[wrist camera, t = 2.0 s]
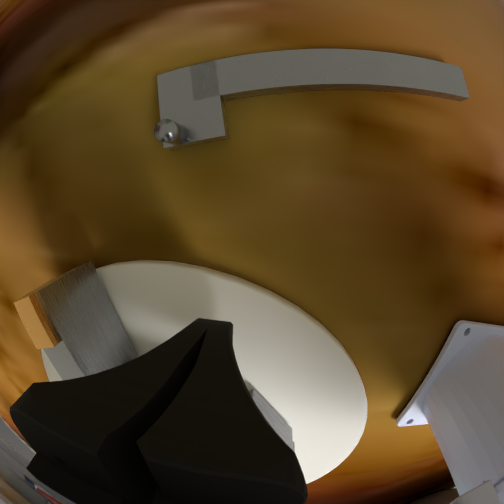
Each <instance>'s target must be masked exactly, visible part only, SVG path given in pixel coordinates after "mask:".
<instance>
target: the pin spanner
mask: <svg viewBox="0 0 504 504" xmlns="http://www.w3.org/2000/svg"><path fill="white" fill-rule="evenodd" d="M157 85H158V98H159V110H160V120H161V121H159V122H158V123H157V125H156V126H155V129H154V135H155V137H156V139H157V140H159V141H161V142H163V147H164V149H169V150H173V149H178V148H182V147H187V146H191V145H196V144H201V143H206V142H212V141H217V140H223V139H229V135H228V127H227V120H226V112H225V105H224V101H228V100H233V99H239V98H246V97H253V96H260V95H268V94H277V93H288V92H301V91H319V90H371V91H389V92H401V93H411V94H419V95H427V96H434V97H440V98H446V99H451V100H457V101H462V100H465V99H469V94H468V90H467V86H466V82H465V79H464V75H463V72H462V69H461V67H459V66H455V65H451V64H447V63H443V62H439V61H435V60H430V59H426V58H421V57H415V56H409V55H403V54H396V53H389V52H380V51H370V50H355V49H296V50H282V51H271V52H262V53H254V54H247V55H240V56H234V57H228V58H223V59H218V60H213V61H208V62H204V63H200V64H195V65H191V66H187V67H184V68H180V69H176V70H173V71H169V72H166V73H163V74H160V75H157Z"/></svg>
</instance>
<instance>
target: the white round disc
mask: <svg viewBox="0 0 504 504" xmlns="http://www.w3.org/2000/svg"><path fill="white" fill-rule="evenodd" d="M96 271H97V273H98V276H99V278H100V280H101V282H102V285H103V287H104V289H105V291H106V294H107V296H108V298H109V300H110V302H111V304H112V306H113V308H114V310H115V312H116V315H117V316H118V318H119V320H120V322H121V324H122V326H123V328H124V330H125V332H126V334H127V336H128V337H129V339H130V341H131V343H132V345H133V346H134V348H135V350H136V352H137V353H138V357H139V356H141V355H143V354H145V353H147V352H149V351H150V350H152V349H154V348H155V347H157V346H159V345H160V344H162V343H164V342H165V341H167V340H168V339H170V338H171V337H173V336H174V335H175V334H177V333H178V332H180V331H181V330H182V329H184V328H185V327H186V326H188V325H189V324H191V323H192V322H193V321H195V320H196V319H197V318H203V319H211V320H219V321H228V322H231V323H232V324H233V349H234V353H235V357H236V361H237V364H238V367H239V370H240V373H241V375H242V378H243V380H244V383H245V385H246V387H247V389H248V391H249V390H252V389H255V391H256V392H257V393H258V394H259V395H260V396H261V397H262V398H263V399H264V400H265V401H266V402H267V403H268V404H269V405H270V406H271V407H272V408H273V410H274V411H275V412H276V413H277V414H278V415H279V416H280V417H281V418H282V419H283V420H284V421H285V422H286V423H287V424H288V425H289V426H290V427H291V428H292V439H293V442H294V443H295V454H296V456H297V459H298V461H299V464H300V466H301V469H302V472H303V474H304V478H305V481H306V484H307V483H310V482H312V481H314V480H316V479H318V478H320V477H322V476H323V475H325V474H327V473H329V472H330V471H331V470H333V469H334V468H335V467H337V466H338V465H339V464H340V463H341V462H342V461H344V460H345V459H346V458H347V457H348V456H349V454H350V453H351V452H352V451H353V449H354V448H355V447H356V445H357V444H358V442H359V440H360V438H361V436H362V434H363V431H364V428H365V424H366V420H367V399H366V394H365V389H364V385H363V383H362V380H361V377H360V375H359V373H358V370H357V368H356V366H355V364H354V362H353V360H352V358H351V357H350V356H349V354H348V353H347V351H346V350H345V348H344V347H343V346H342V344H341V343H340V342H339V341H338V340H337V339H336V338H335V337H334V336H333V335H332V334H331V333H330V332H329V331H328V330H327V329H326V328H325V327H324V326H323V325H322V324H321V323H320V322H319V321H317V320H316V319H314V318H313V317H312V316H310V315H309V314H308V313H306V312H305V311H304V310H302V309H301V308H300V307H298V306H297V305H295V304H293V303H291V302H290V301H288V300H286V299H284V298H283V297H281V296H279V295H277V294H276V293H274V292H272V291H270V290H268V289H266V288H264V287H261V286H259V285H256V284H254V283H252V282H249V281H247V280H245V279H242V278H240V277H238V276H234V275H231V274H227V273H224V272H221V271H217V270H214V269H211V268H207V267H204V266H198V265H192V264H186V263H181V262H175V261H161V260H135V261H125V262H117V263H113V264H110V265H106V266H103V267H99V268H96ZM41 351H42V359H43V363H44V366H45V370H46V373H47V376H48V379H49V381H50V382H52V381H62V378H61V377H60V375H59V374H58V372H57V371H56V369H55V368H54V366H53V364H52V363H51V361H50V360H49V358H48V356H47V355H46V353H45V351H44V350H43V349H41Z"/></svg>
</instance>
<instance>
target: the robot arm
mask: <svg viewBox="0 0 504 504" xmlns="http://www.w3.org/2000/svg"><path fill="white" fill-rule="evenodd" d="M465 330H466V331H465ZM10 415H11V418H12V420H13V422H14V423H15V425H16V427H17V428H18V429H19V431H20V432H21V434H22V435H23V436H24V438H25V439H26V440H27V441H28V443H29V444H30V445H31V447H32V448H33V449H34V450H35V451H36V455H35V456H34V458H33V459H32V461H29V460H28V459H27V458H25V457H24V456H22V455H21V454H20V453H19V452H17V451H16V450H15V449H14V448H12V447H11V446H10V445H9V444H8V443H6V442H5V441H4V440H3V439H2V438H0V504H53V503H52V502H51V501H50V500H49V499H48V498H46V497H45V496H43V495H42V494H41V493H39V492H38V491H37V490H36V488H35V486H37V487H38V488H39V489H41V490H42V491H44V492H45V493H47V494H48V495H50V496H51V497H53V498H54V499H56V500H57V501H59V502H61V503H62V504H304V503H305V502H306V499H307V496H308V493H307V486H306V481H305V478H304V474H303V472H302V469H301V466H300V464H299V461H298V459H297V456H296V454H295V452H294V451H293V450H292V449H291V448H290V447H289V446H288V445H287V444H286V443H285V442H284V441H283V440H282V438H281V437H280V436H279V435H278V434H277V433H276V432H275V430H274V429H273V428H272V427H271V425H270V424H269V423H268V421H267V420H266V419H265V417H264V416H263V414H262V413H261V411H260V410H259V408H258V407H257V405H256V403H255V402H254V400H253V398H252V397H251V395H250V393H249V391H248V389H247V387H246V385H245V383H244V380H243V378H242V375H241V373H240V370H239V367H238V364H237V361H236V357H235V353H234V349H233V324H232V323H231V322H228V321H219V320H211V319H203V318H197V319H196V320H195V321H193V322H192V323H191V324H189V325H188V326H186V327H185V328H184V329H182V330H181V331H180V332H178V333H177V334H175V335H174V336H173V337H171V338H170V339H168V340H167V341H165V342H164V343H162V344H160V345H159V346H157V347H155V348H154V349H152V350H150V351H149V352H147V353H145V354H143V355H141V356H139V357H137V358H135V359H133V360H131V361H129V362H126V363H124V364H122V365H119V366H117V367H114V368H111V369H108V370H105V371H102V372H99V373H96V374H92V375H88V376H84V377H79V378H74V379H69V380H62V381H52V382H40V383H33V384H32V385H31V386H30V387H29V388H28V389H27V390H26V391H25V392H24V393H23V394H22V395H21V397H20V398H19V399H18V400H17V401H16V402H15V403H14V404H13V405H12V406H11V407H10ZM396 423H397V425H398V426H412V425H422V424H429V426H430V428H431V430H432V432H433V434H434V436H435V438H436V441H437V443H438V445H439V447H440V450H441V452H442V454H443V456H444V459H445V461H446V463H447V466H448V468H449V471H450V473H451V476H452V478H453V481H454V483H455V486H456V489H457V491H458V494H459V497H458V498H456V499H455V500H454V501H452V502H451V503H450V504H504V326H500V325H492V324H485V323H479V322H472V321H465V320H460V321H459V322H457V323H456V324H455V326H454V327H453V329H452V331H451V333H450V335H449V337H448V339H447V341H446V343H445V345H444V347H443V349H442V350H441V352H440V354H439V356H438V358H437V359H436V361H435V363H434V365H433V366H432V368H431V370H430V371H429V373H428V375H427V376H426V378H425V379H424V381H423V382H422V384H421V386H420V387H419V389H418V390H417V392H416V393H415V395H414V396H413V397H412V399H411V400H410V402H409V403H408V405H407V406H406V407H405V409H404V410H403V411H402V413H401V414H400V415H399V417H398V418H397V420H396ZM34 485H35V486H34Z"/></svg>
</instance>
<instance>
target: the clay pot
mask: <svg viewBox="0 0 504 504" xmlns="http://www.w3.org/2000/svg"><path fill="white" fill-rule="evenodd" d="M458 497H459V494H458V491H457V489H456V488H453V489H447V490H444V491H441V492H438V493H434V494H431V495H428V496H426V497H423V498H420V499H418V500H416V501H414V502H412V503H410V504H450V503H451V502H452V501H454V500H455V499H456V498H458Z"/></svg>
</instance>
